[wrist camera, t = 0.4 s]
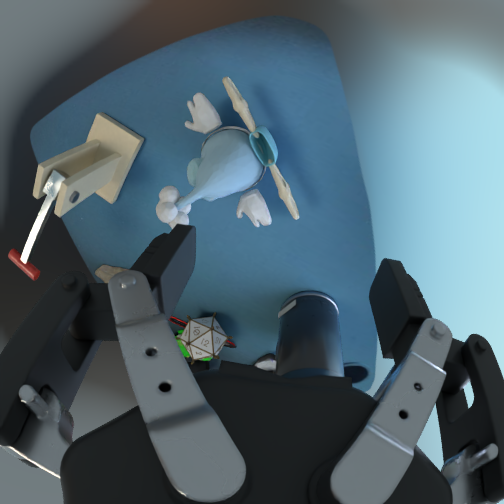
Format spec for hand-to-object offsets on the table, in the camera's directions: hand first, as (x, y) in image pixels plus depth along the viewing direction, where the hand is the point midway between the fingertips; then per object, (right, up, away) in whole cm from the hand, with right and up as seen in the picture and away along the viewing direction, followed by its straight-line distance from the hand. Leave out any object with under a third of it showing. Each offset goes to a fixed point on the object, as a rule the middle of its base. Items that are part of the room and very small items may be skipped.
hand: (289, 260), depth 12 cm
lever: (-26, +4, +16) cm, 31 cm away
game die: (-9, -12, +38) cm, 41 cm away
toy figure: (-3, +12, +22) cm, 25 cm away
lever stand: (-22, +14, +24) cm, 35 cm away
